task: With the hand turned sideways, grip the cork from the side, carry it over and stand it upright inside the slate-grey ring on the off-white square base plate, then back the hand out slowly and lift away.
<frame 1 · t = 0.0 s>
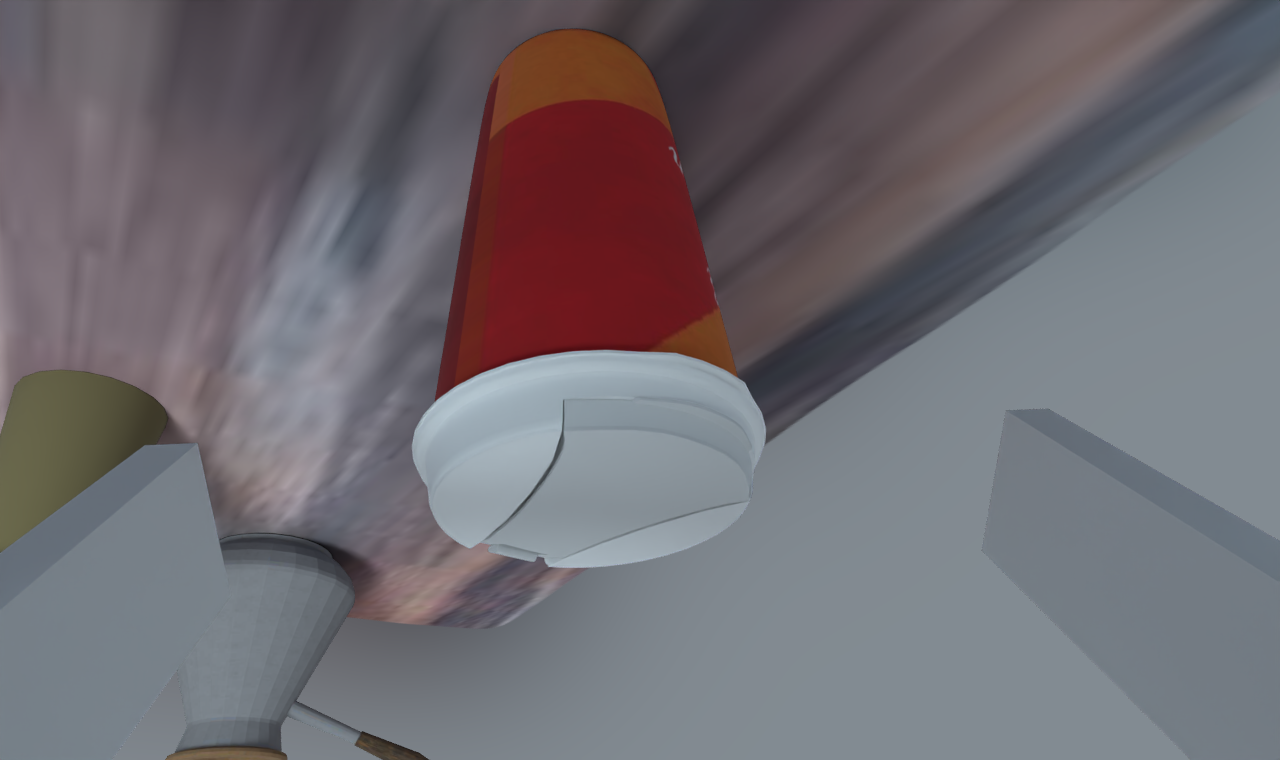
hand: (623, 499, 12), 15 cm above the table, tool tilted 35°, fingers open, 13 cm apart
coffee pot: (348, 558, 52), on the table
paper cup: (576, 105, 23), on the table
cork: (95, 403, 34), on the table
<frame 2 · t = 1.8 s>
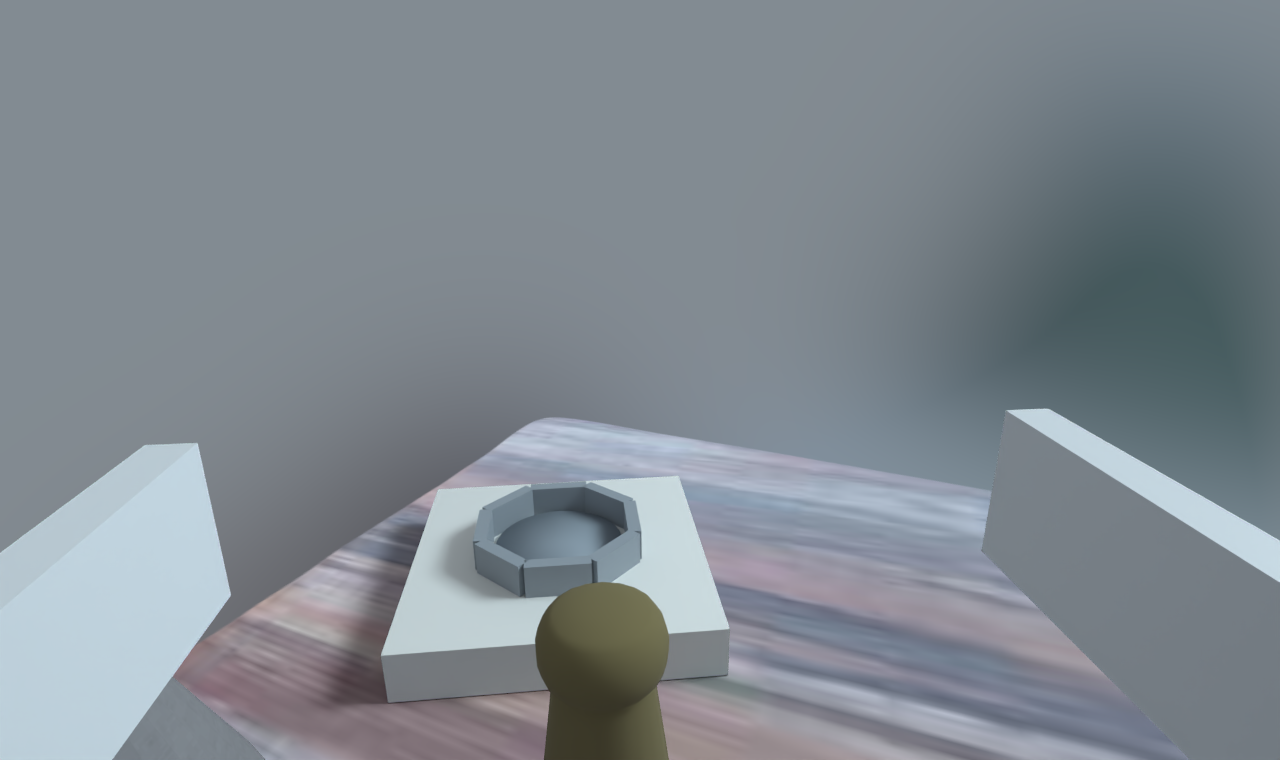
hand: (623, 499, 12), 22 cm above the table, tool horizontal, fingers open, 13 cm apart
base plate: (561, 587, 47), on the table
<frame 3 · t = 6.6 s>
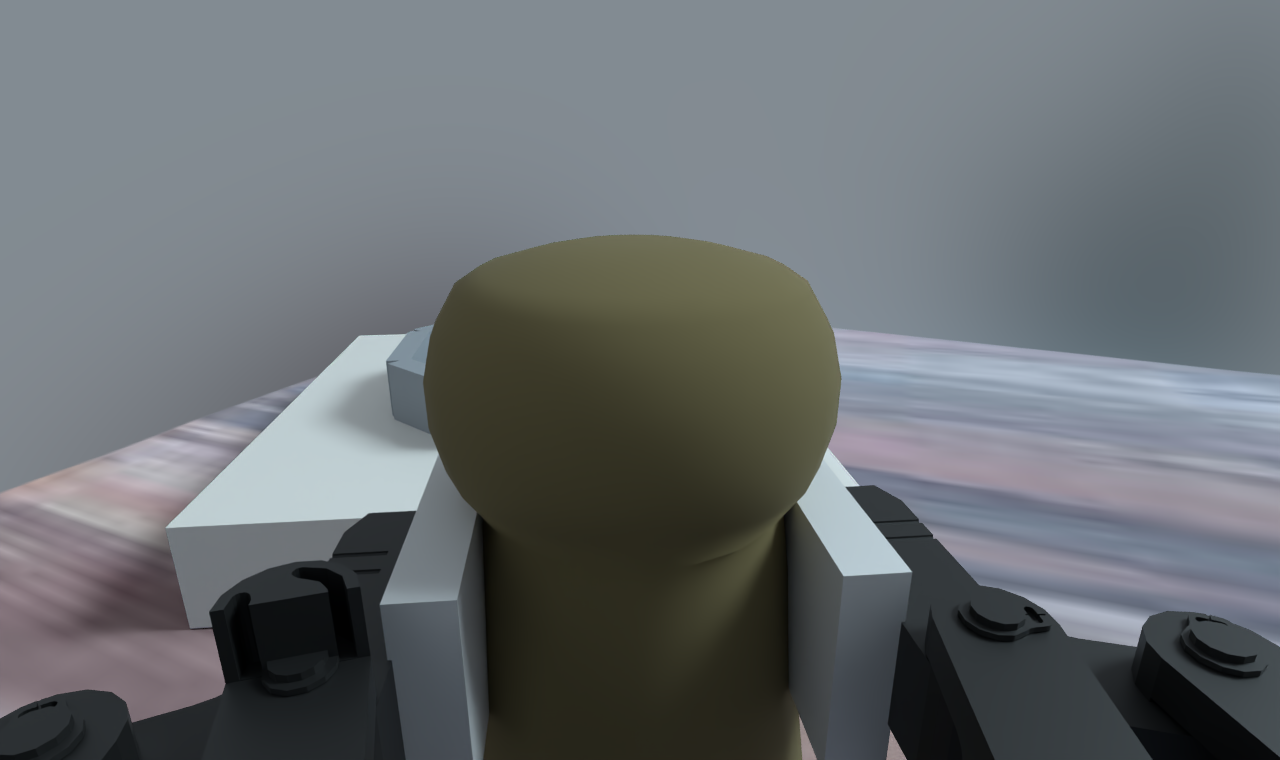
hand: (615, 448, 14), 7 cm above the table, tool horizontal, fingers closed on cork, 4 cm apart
base plate: (544, 464, 28), on the table
when the fingers open (10 cm above the table, at t = 11.1 s): cork moves 2 cm, resting on base plate.
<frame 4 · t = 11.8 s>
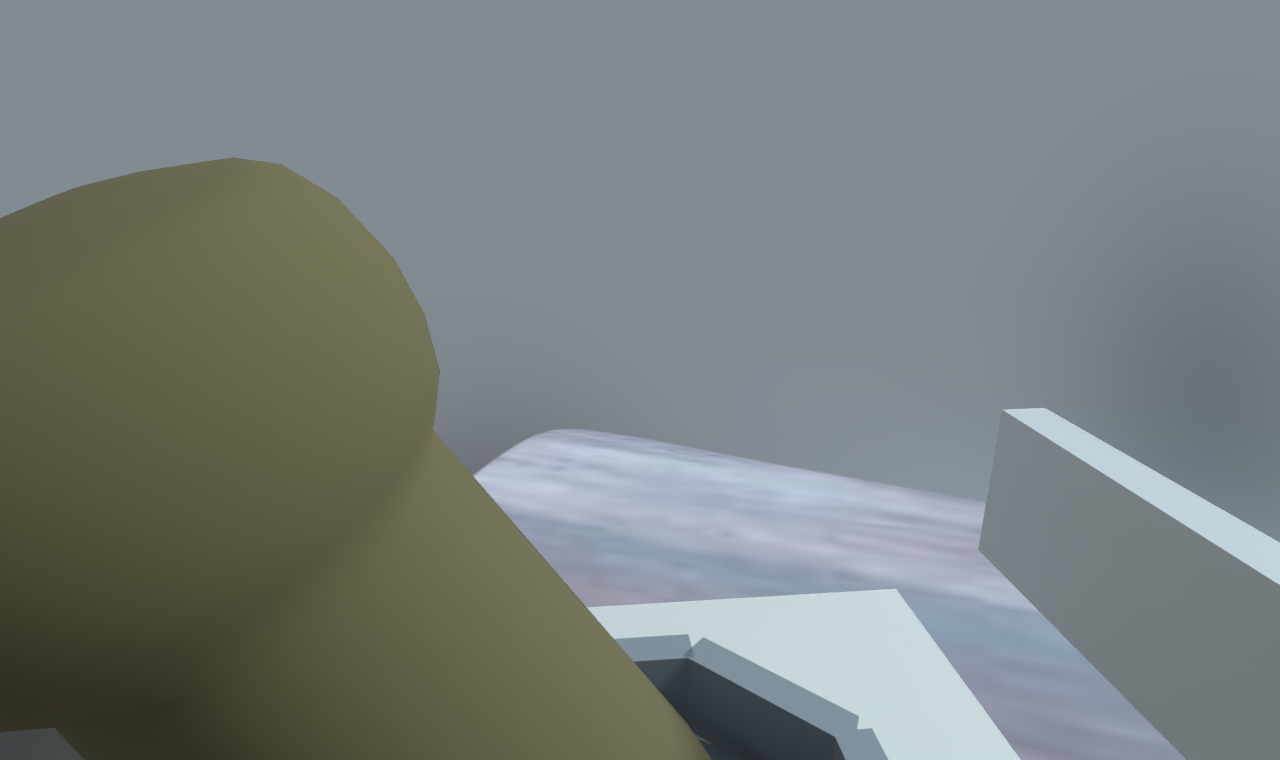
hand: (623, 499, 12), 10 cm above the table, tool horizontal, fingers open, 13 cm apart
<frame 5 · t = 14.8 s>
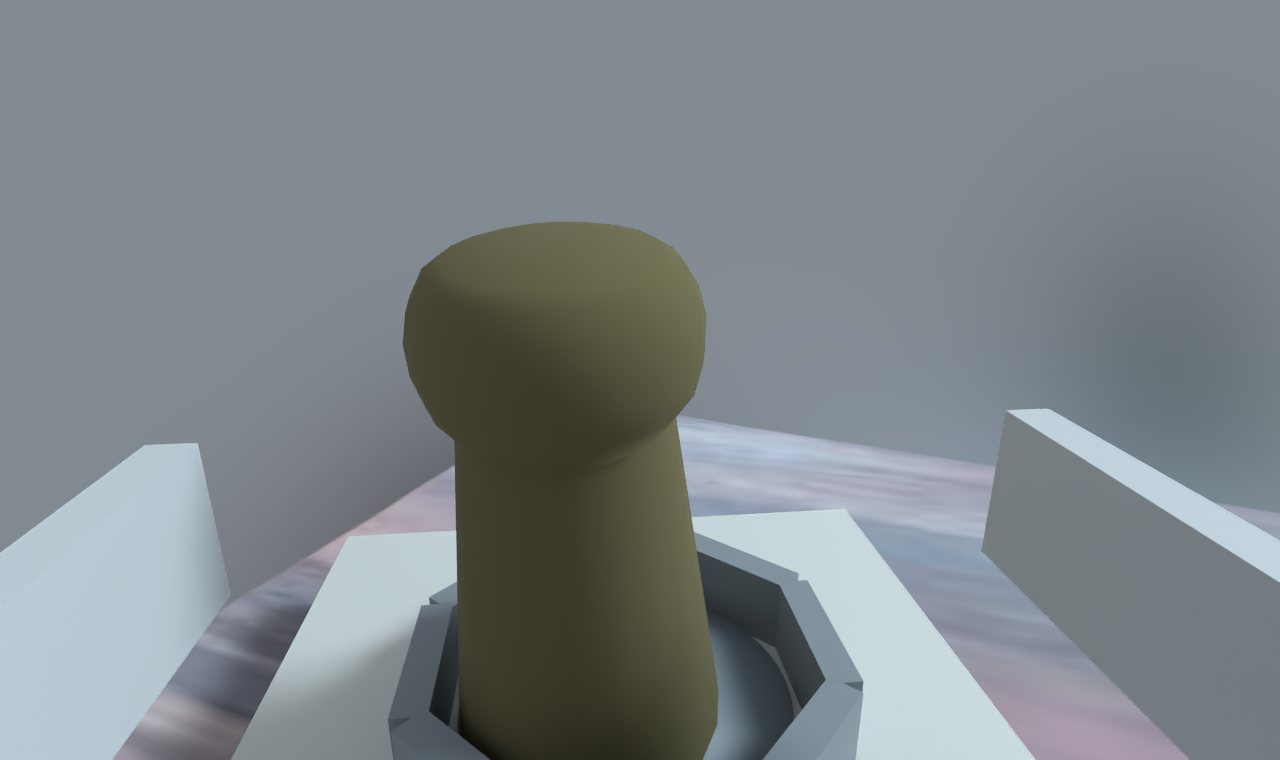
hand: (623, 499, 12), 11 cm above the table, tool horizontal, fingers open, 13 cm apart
cork: (590, 701, 17), point 4 cm above the table, touching base plate
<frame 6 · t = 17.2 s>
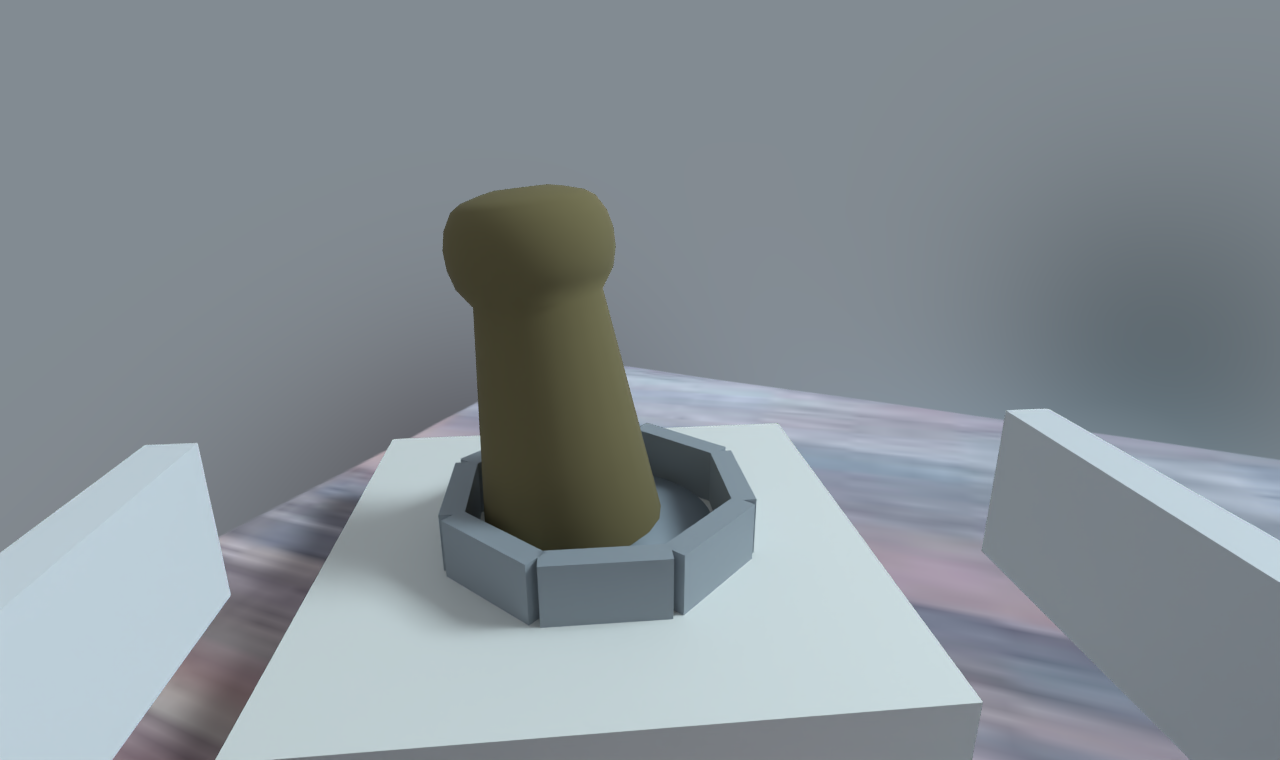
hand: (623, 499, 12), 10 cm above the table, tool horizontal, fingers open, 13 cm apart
base plate: (600, 603, 26), on the table
cork: (574, 523, 25), point 4 cm above the table, touching base plate
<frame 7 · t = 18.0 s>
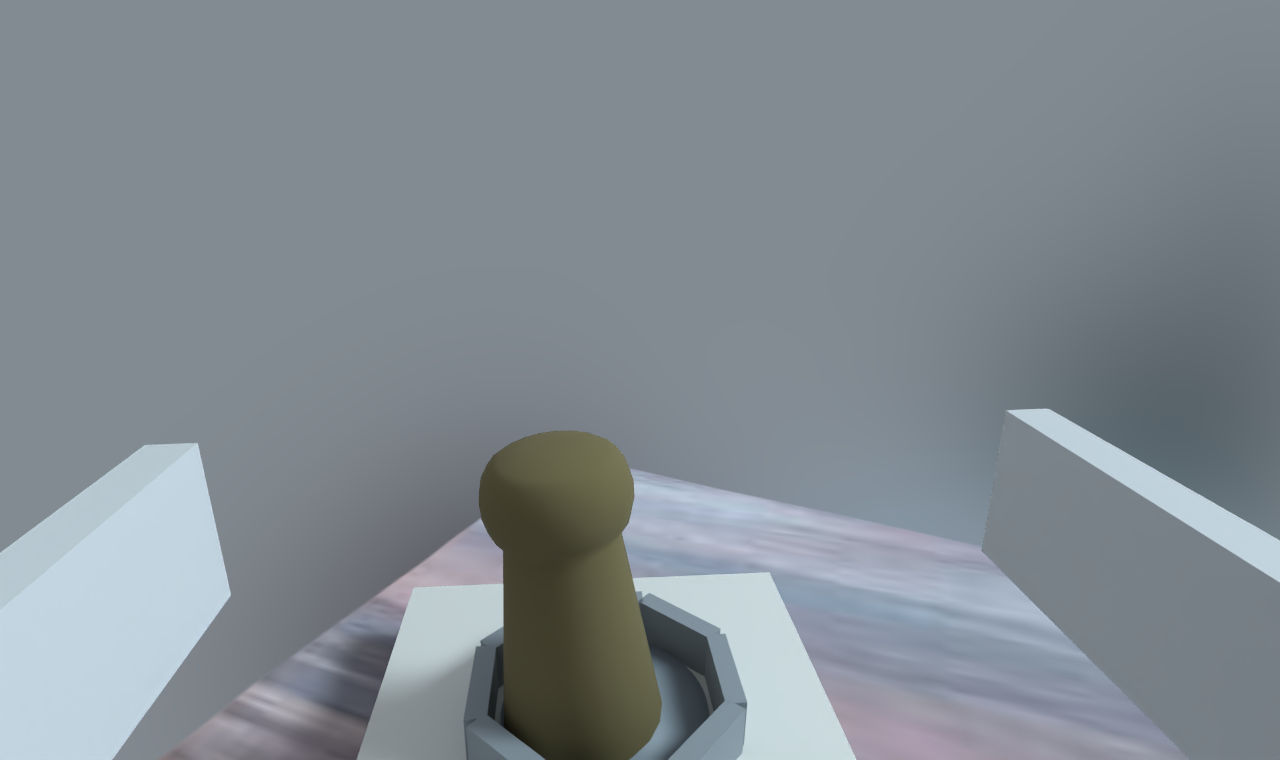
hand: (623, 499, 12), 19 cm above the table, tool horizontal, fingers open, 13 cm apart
cork: (583, 713, 28), point 3 cm above the table, touching base plate
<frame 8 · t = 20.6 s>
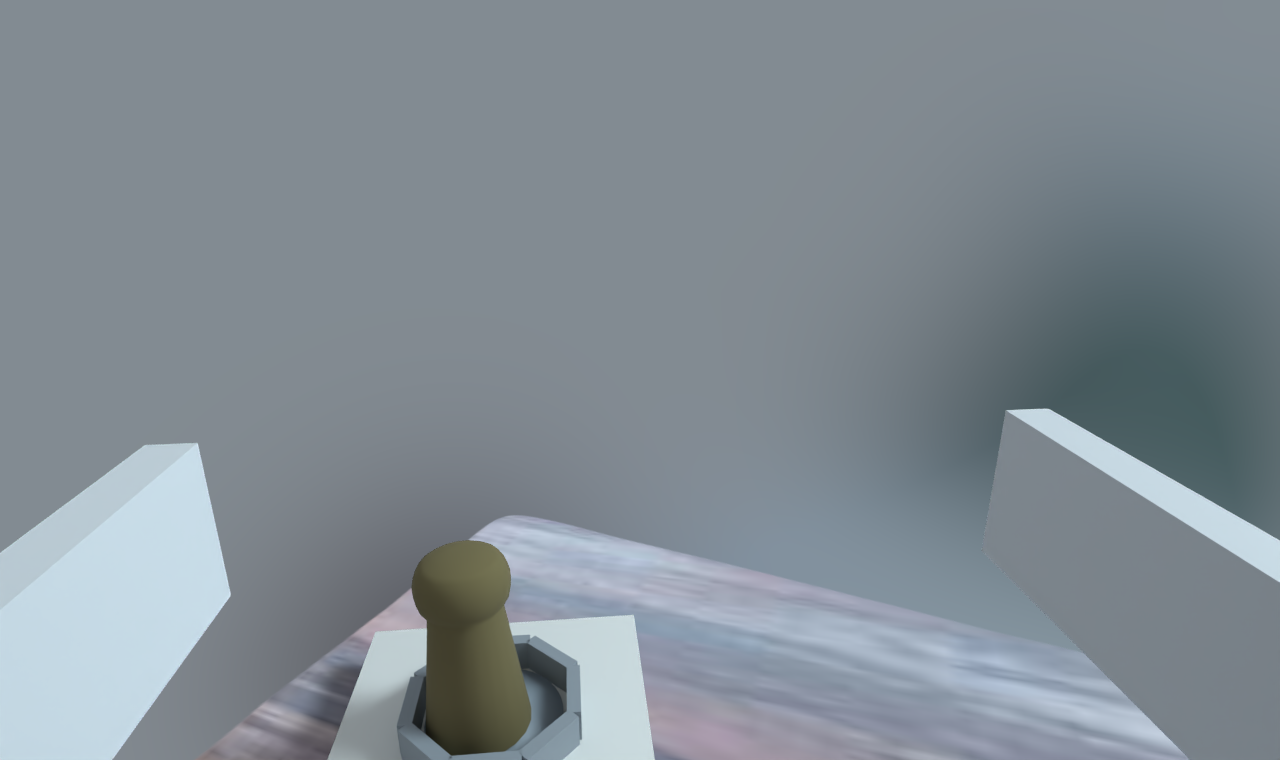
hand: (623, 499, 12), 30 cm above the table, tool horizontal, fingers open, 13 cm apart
cork: (479, 722, 42), point 3 cm above the table, touching base plate
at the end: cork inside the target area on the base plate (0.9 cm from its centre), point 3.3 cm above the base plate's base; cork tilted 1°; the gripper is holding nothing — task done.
